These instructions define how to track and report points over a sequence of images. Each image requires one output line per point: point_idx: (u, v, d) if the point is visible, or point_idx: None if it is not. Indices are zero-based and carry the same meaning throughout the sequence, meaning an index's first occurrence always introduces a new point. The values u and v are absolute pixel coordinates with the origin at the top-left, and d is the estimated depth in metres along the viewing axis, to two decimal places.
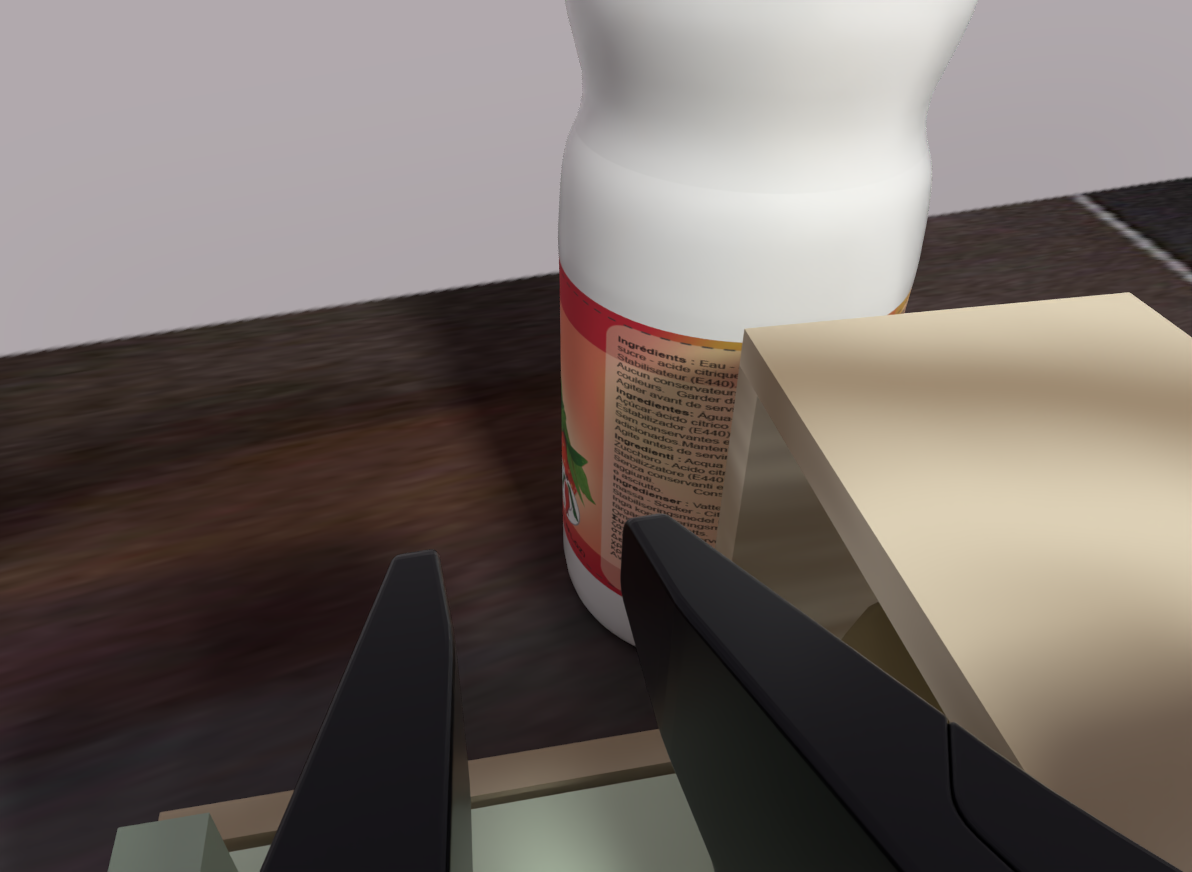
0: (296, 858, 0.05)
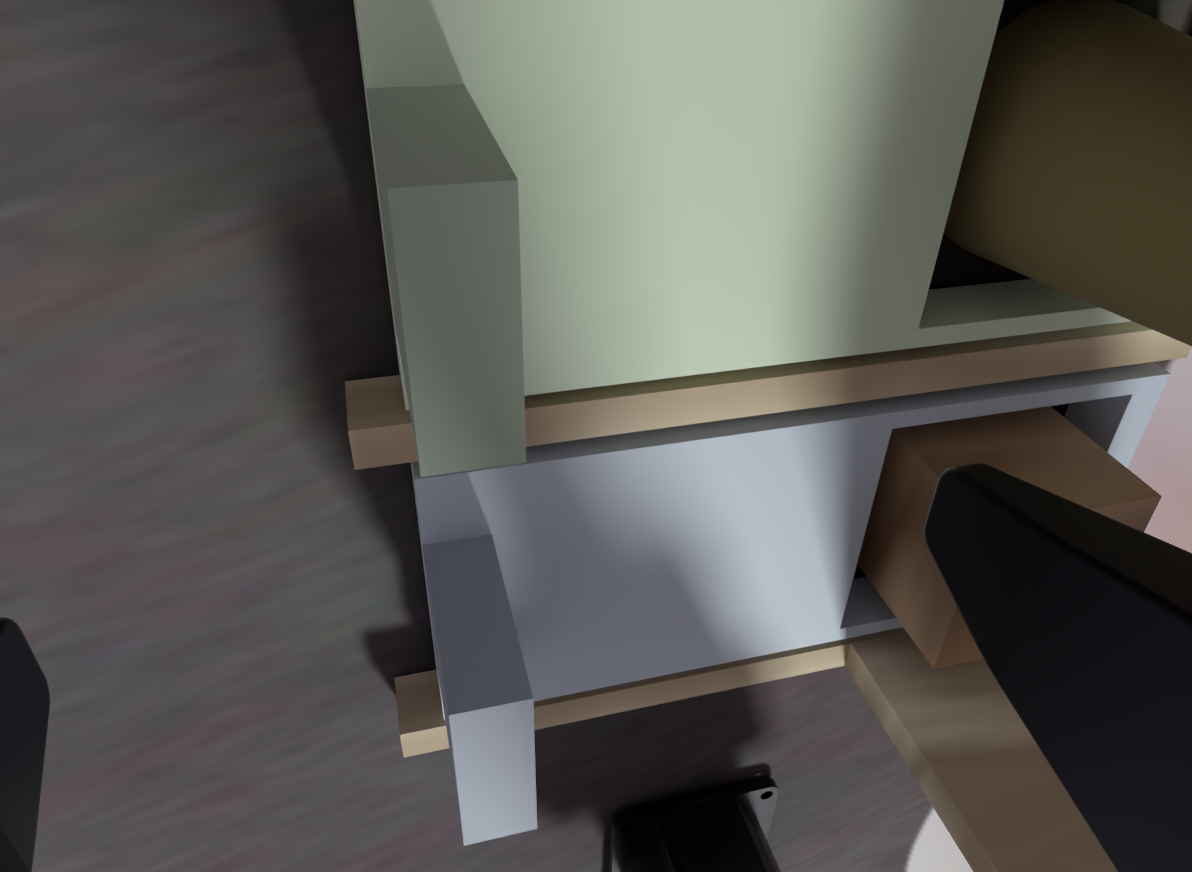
0: None
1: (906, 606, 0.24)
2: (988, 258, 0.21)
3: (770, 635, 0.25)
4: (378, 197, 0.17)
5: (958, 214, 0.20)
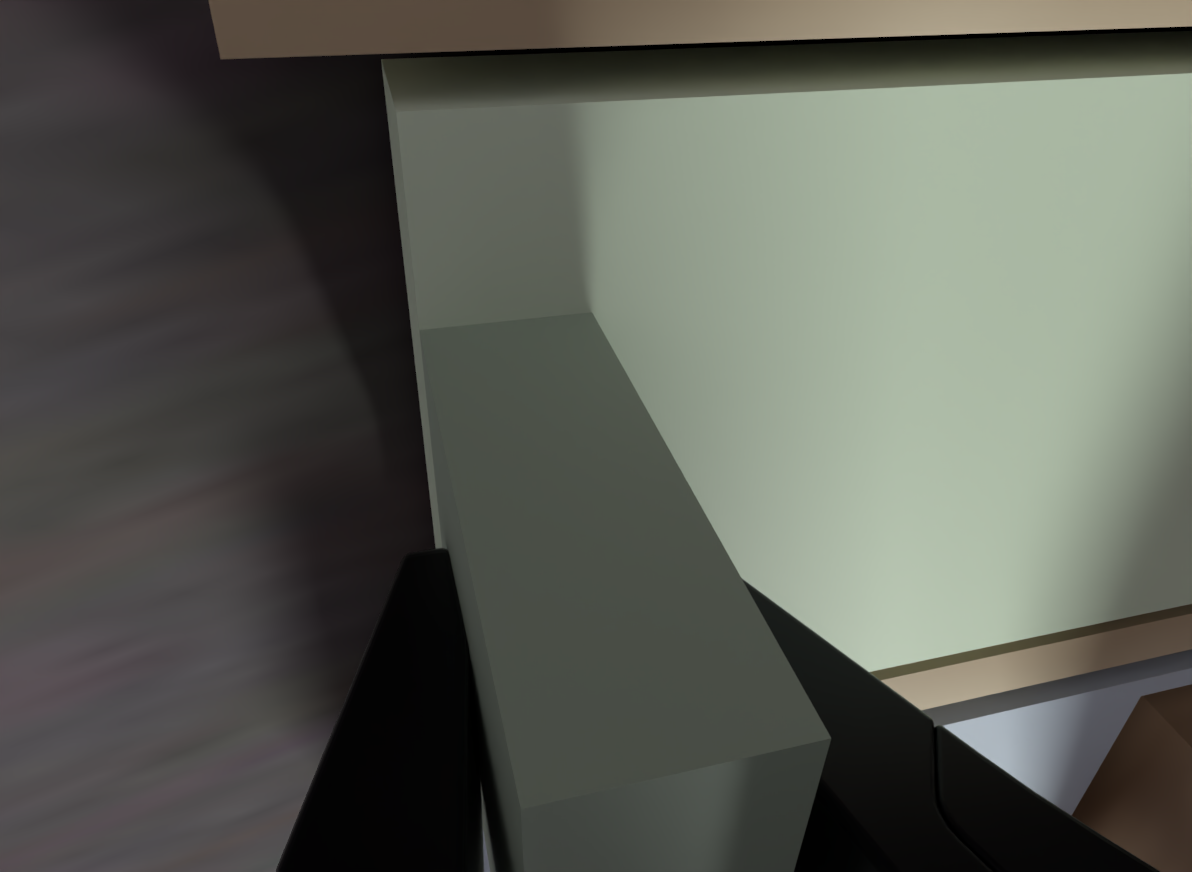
0: (313, 854, 0.05)
1: None
2: None
3: None
4: (427, 457, 0.10)
5: None
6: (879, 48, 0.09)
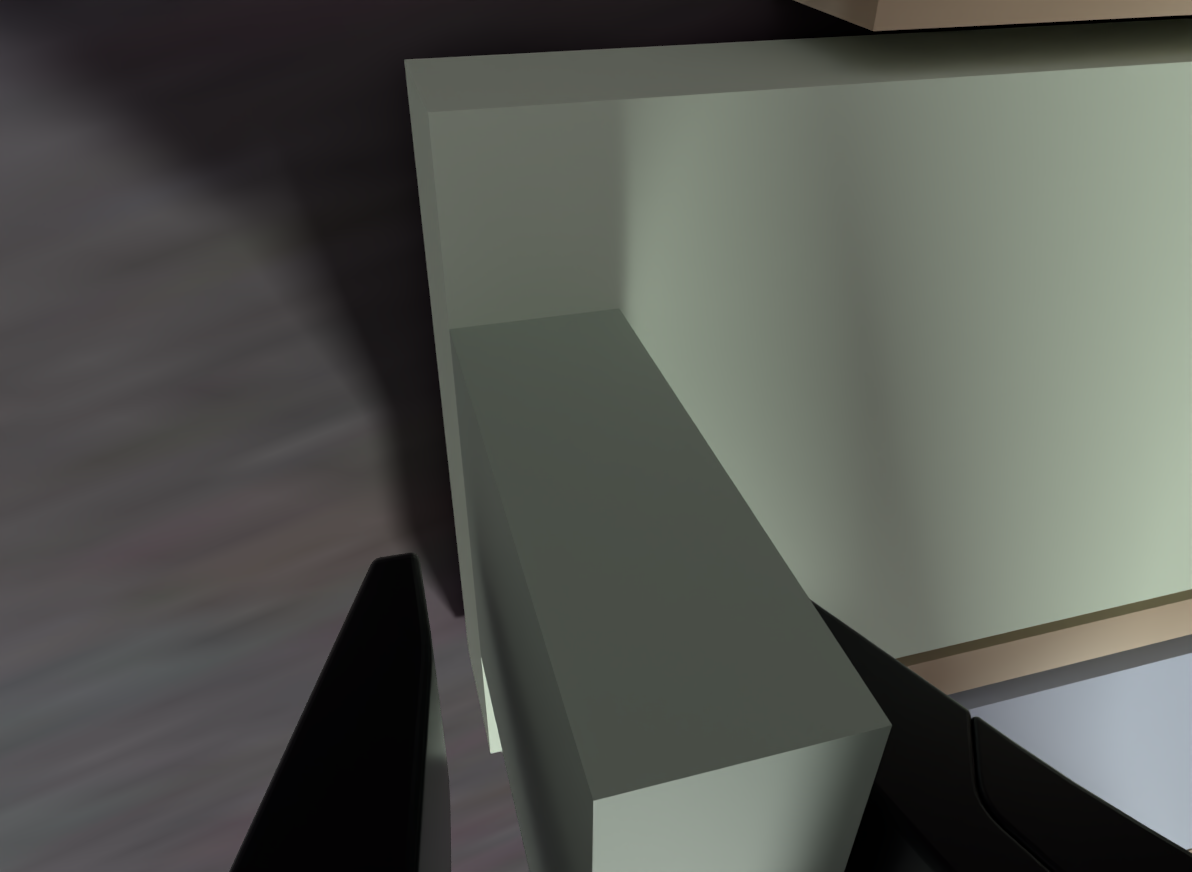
0: (263, 865, 0.05)
1: None
2: None
3: None
4: (451, 455, 0.10)
5: None
6: (896, 41, 0.09)
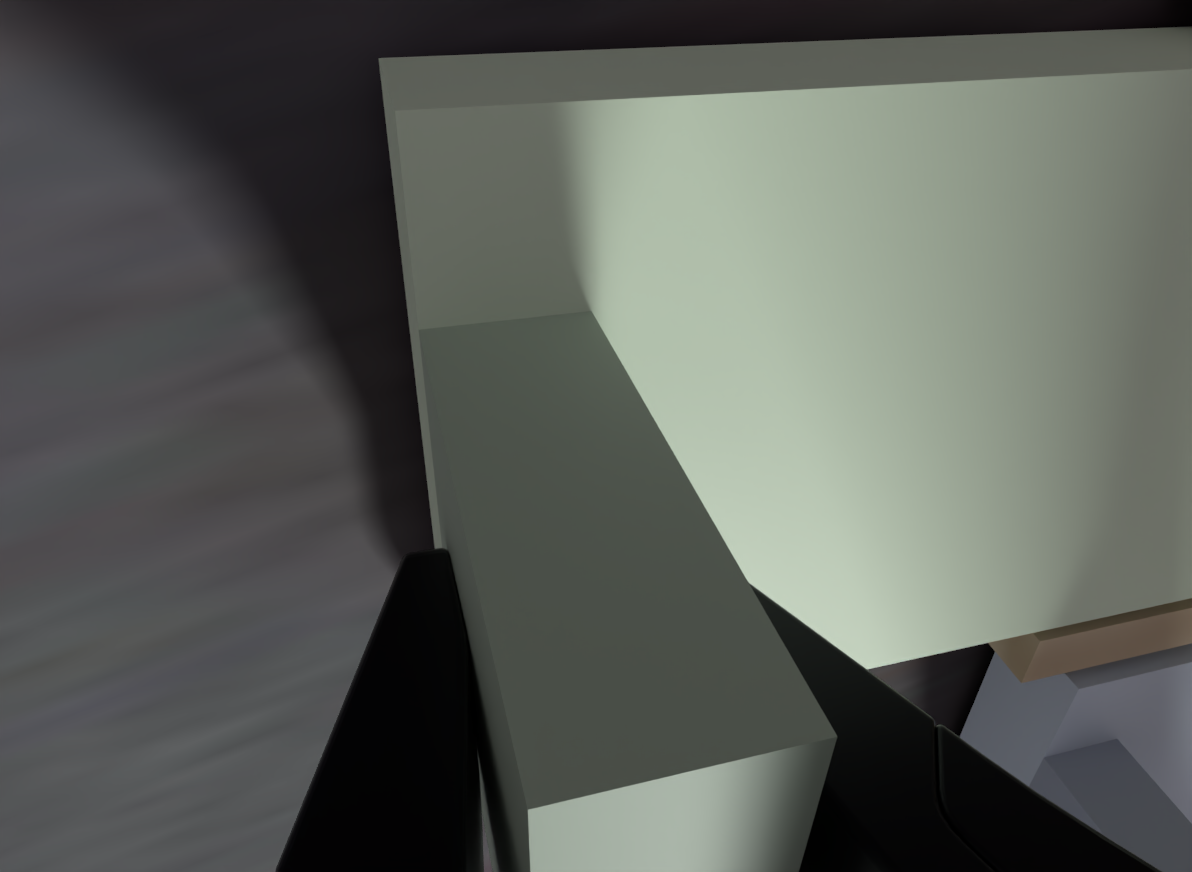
0: (313, 854, 0.05)
1: None
2: None
3: None
4: (426, 457, 0.10)
5: None
6: (876, 45, 0.09)
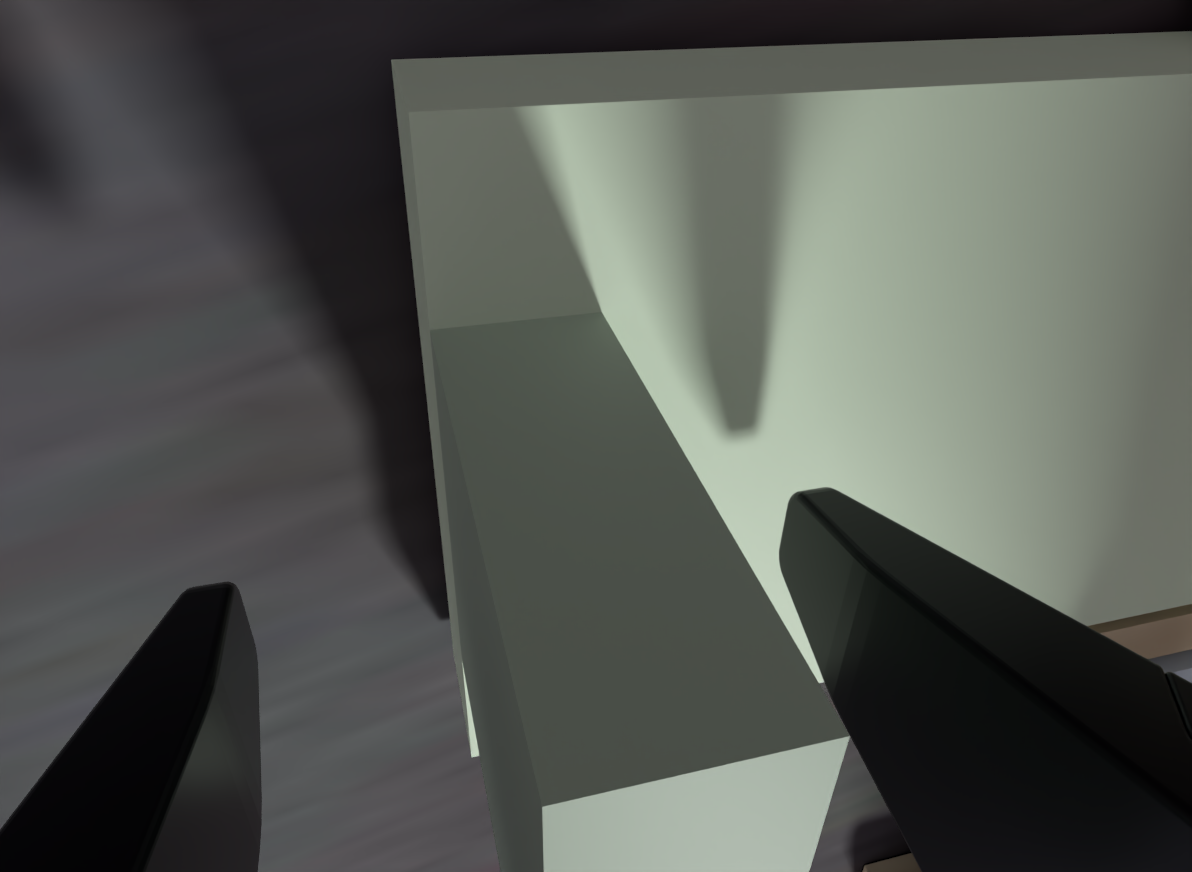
0: None
1: None
2: None
3: None
4: (435, 457, 0.10)
5: None
6: (887, 49, 0.09)
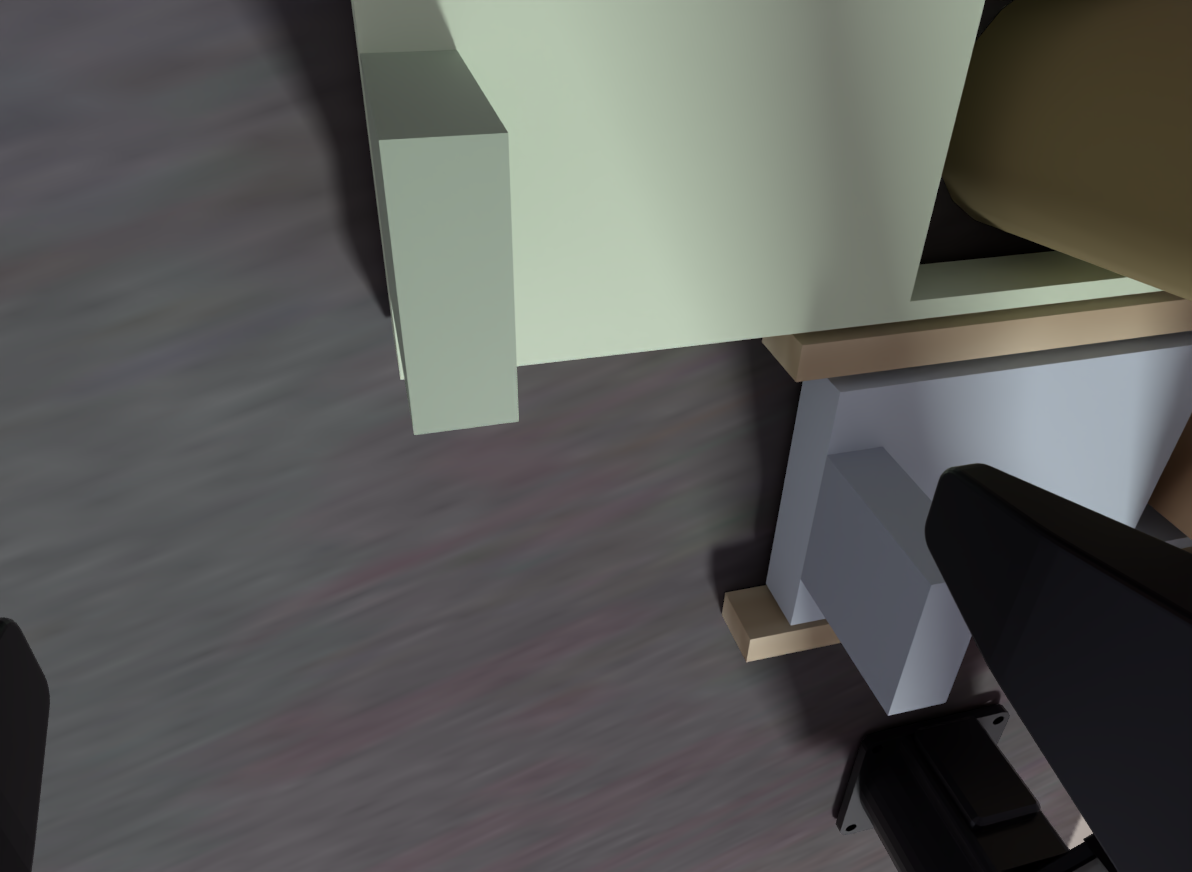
0: None
1: None
2: (1001, 227, 0.21)
3: None
4: (372, 166, 0.17)
5: (973, 182, 0.20)
6: None
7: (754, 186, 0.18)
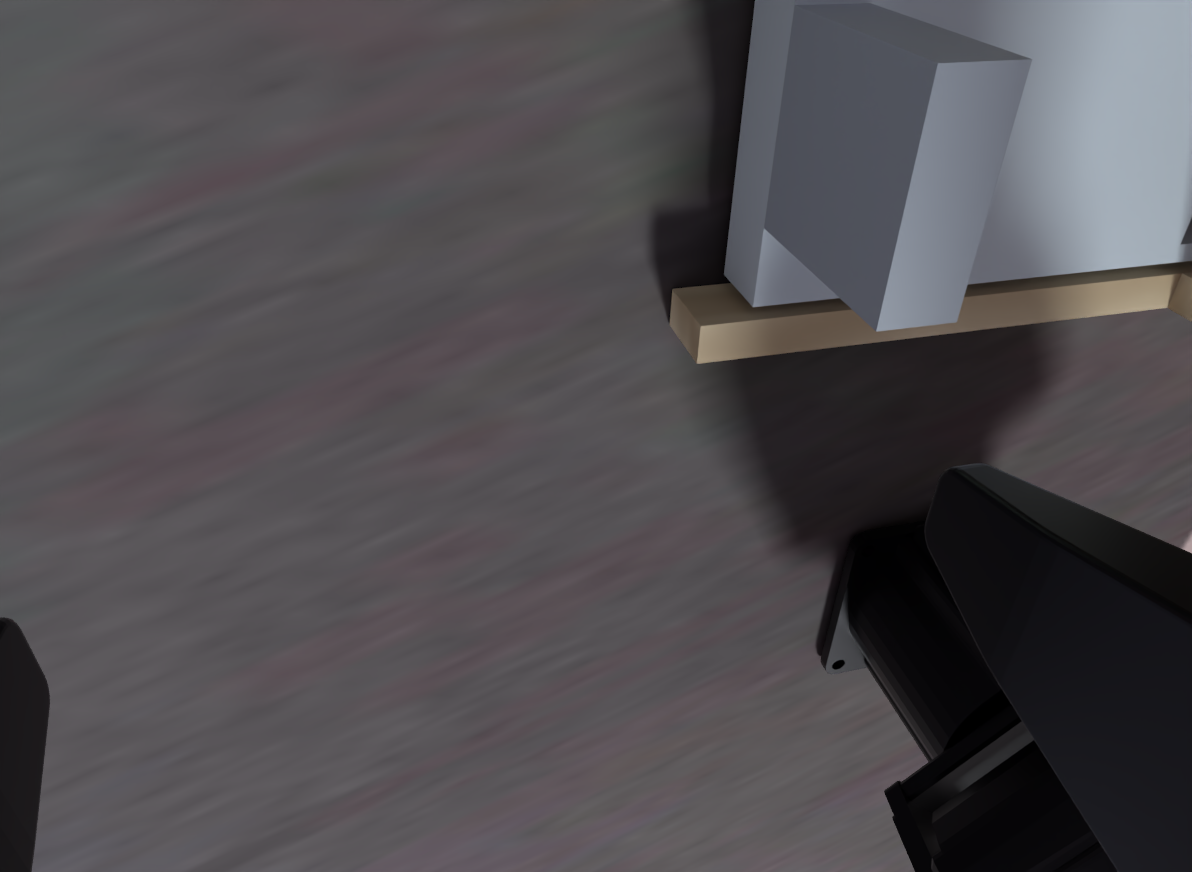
0: None
1: None
2: None
3: (1109, 239, 0.22)
4: None
5: None
6: None
7: None
